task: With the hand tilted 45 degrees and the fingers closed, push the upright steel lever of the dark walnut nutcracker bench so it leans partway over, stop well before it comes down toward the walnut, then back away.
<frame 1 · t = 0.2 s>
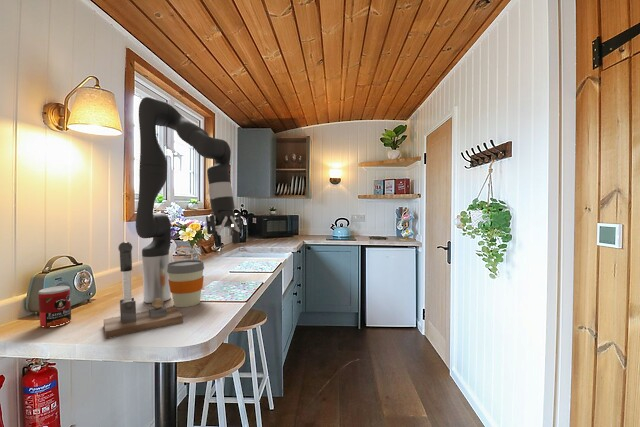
hand: (228, 245, 110), 22 cm above the counter, tool pointing down, fingers open, 8 cm apart
nutcracker bench: (143, 324, 101), on the counter
canned food: (56, 324, 103), on the counter
reusable coffee cup: (187, 303, 122), on the counter
lever: (126, 275, 98), point 16 cm above the counter, hinge at 0.0°
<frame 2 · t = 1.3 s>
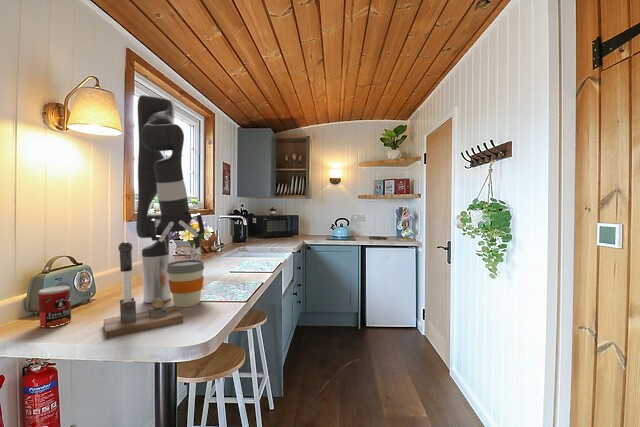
hand: (181, 250, 98), 23 cm above the counter, tool pointing down, fingers open, 8 cm apart
nothing on the counter moved.
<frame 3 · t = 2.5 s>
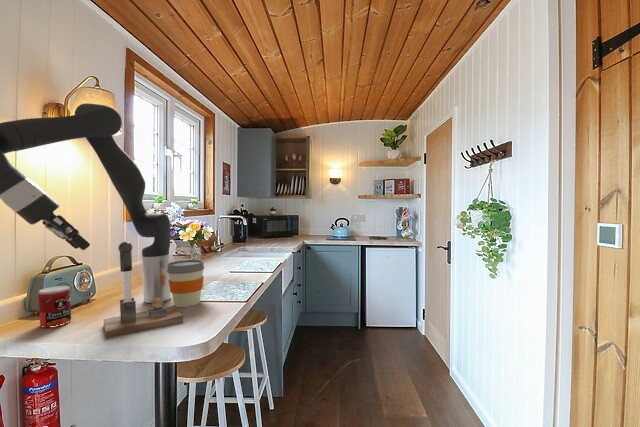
hand: (83, 247, 89), 25 cm above the counter, tool tilted 40°, fingers open, 8 cm apart
nothing on the counter moved.
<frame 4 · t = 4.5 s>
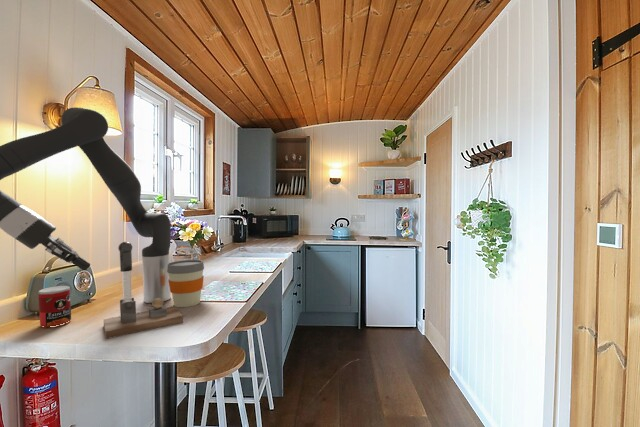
hand: (87, 267, 93), 19 cm above the counter, tool tilted 45°, fingers closed
nothing on the counter moved.
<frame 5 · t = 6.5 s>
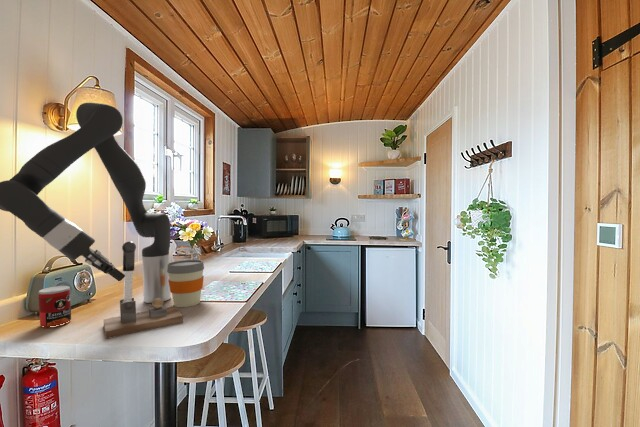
hand: (122, 278, 98), 15 cm above the counter, tool tilted 45°, fingers closed
lever: (128, 275, 98), point 16 cm above the counter, hinge at 3.3°, touching gripper
everything else where it was.
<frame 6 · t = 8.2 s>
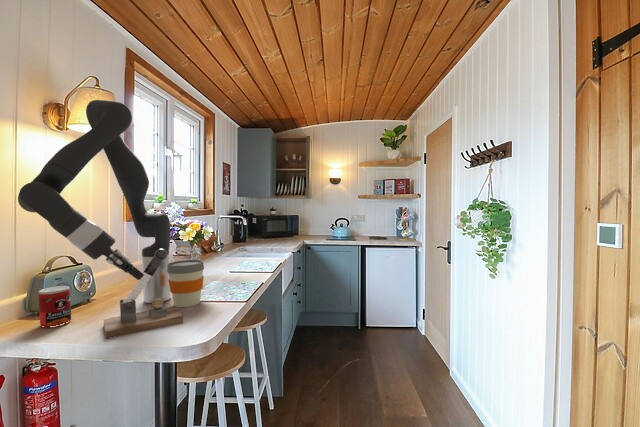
hand: (141, 277, 100), 14 cm above the counter, tool tilted 45°, fingers closed
lever: (145, 277, 101), point 14 cm above the counter, hinge at 34.8°, touching gripper
everything else where it was.
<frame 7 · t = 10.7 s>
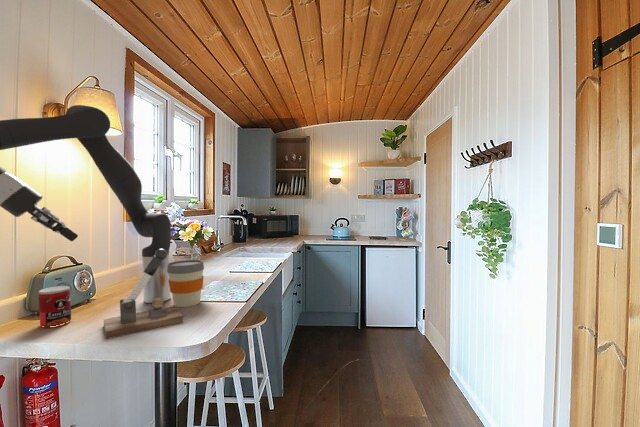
hand: (75, 238, 91), 27 cm above the counter, tool tilted 45°, fingers closed
lever: (145, 277, 101), point 14 cm above the counter, hinge at 34.8°
everything else where it was.
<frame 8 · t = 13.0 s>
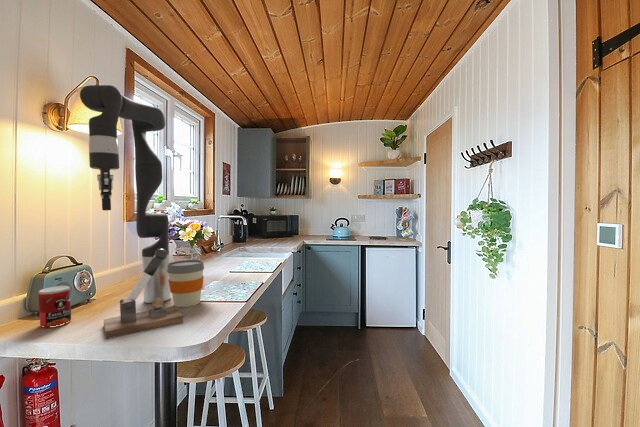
hand: (106, 210, 100), 35 cm above the counter, tool pointing down, fingers closed
nothing on the counter moved.
at the end: lever at +35° (first picture: +0°); the gripper is holding nothing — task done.
